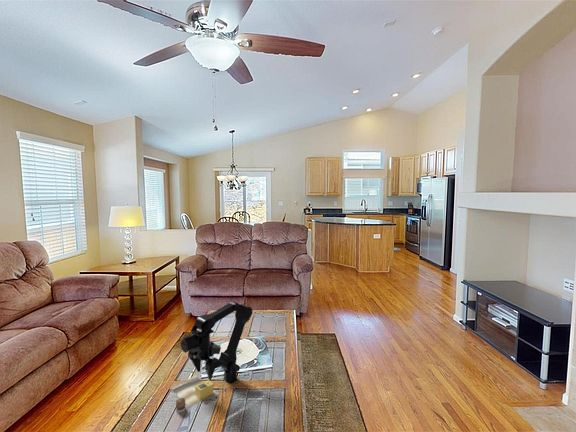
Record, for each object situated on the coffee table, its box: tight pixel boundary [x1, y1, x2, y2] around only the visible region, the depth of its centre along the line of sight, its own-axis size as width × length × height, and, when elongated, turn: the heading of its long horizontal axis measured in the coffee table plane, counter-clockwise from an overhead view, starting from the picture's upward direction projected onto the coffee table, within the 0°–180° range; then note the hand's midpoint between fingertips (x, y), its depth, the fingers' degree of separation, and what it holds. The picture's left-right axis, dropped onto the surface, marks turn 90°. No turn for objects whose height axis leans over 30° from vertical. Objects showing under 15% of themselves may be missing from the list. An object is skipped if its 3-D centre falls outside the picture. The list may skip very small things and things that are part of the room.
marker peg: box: [175, 397, 186, 414], centre depth 138 cm, size 4×4×5 cm
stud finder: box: [195, 379, 215, 400], centre depth 149 cm, size 4×7×5 cm, turn 136°
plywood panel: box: [169, 375, 217, 408], centre depth 152 cm, size 20×14×1 cm
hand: (204, 375), depth 148 cm, fingers open, 9 cm apart
